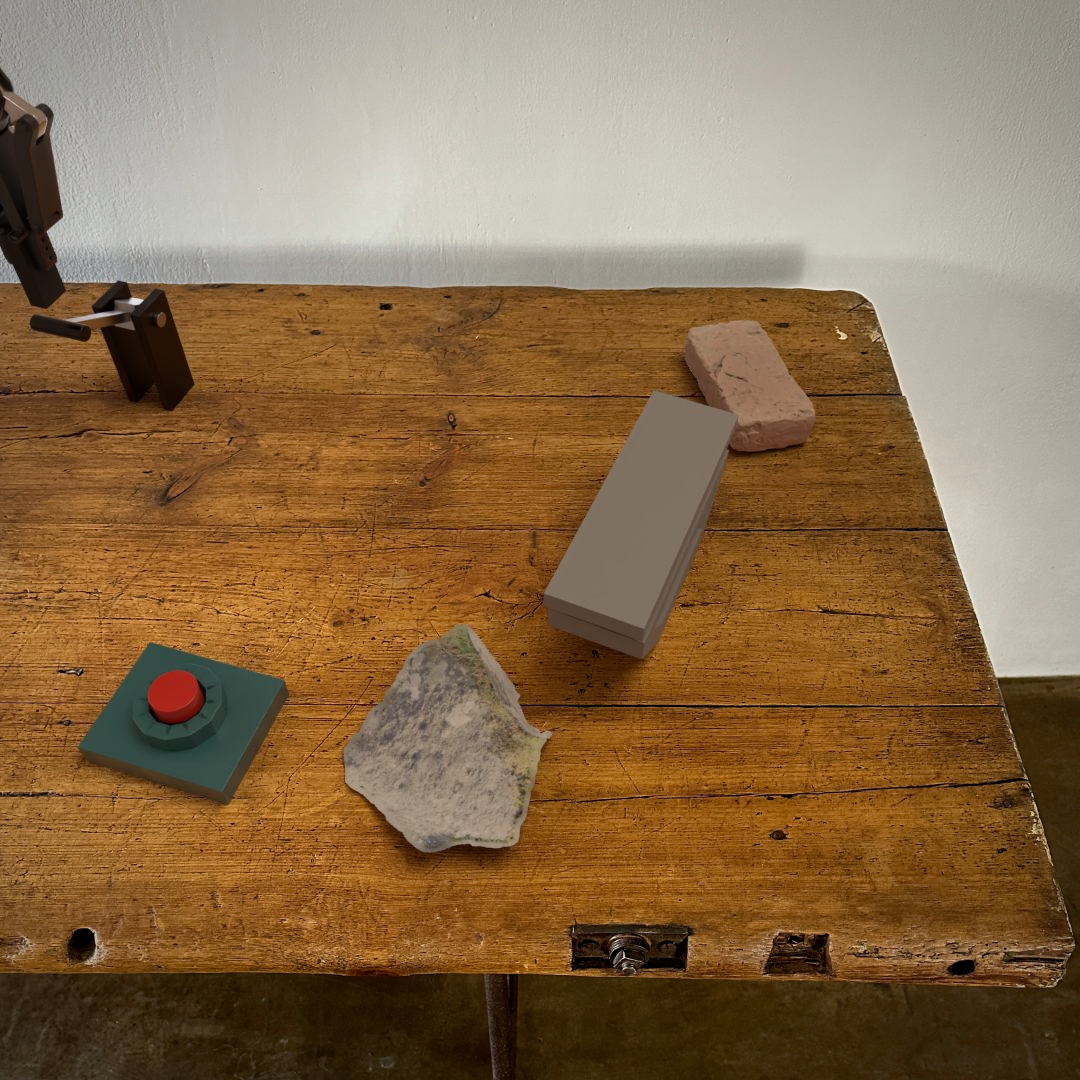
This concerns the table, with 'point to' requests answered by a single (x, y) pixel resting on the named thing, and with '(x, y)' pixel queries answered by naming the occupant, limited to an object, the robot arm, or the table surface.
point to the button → (175, 697)
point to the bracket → (147, 348)
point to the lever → (87, 321)
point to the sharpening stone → (643, 527)
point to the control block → (187, 725)
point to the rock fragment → (448, 748)
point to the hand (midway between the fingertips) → (48, 297)
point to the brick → (749, 385)
